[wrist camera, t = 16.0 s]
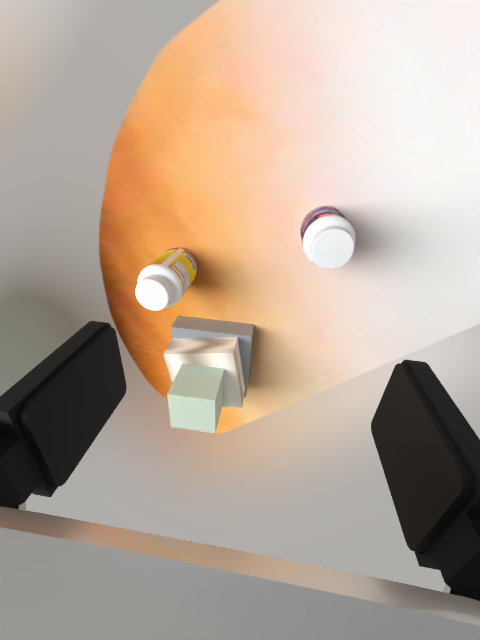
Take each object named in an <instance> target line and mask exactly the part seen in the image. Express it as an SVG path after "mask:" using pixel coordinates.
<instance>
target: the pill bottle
mask: <svg viewBox="0 0 480 640" xmlns="http://www.w3.org/2000/svg"><path fill="white" fill-rule="evenodd" d="M301 239H302V245H303V250H304V253H305V255H306V257H307V258H308V259H309V260H310V261H311V262H312V263H314V264H315V265H318V266H320V267H322V268H325V269H336V268H339V267H342V266H343V265H345V264H346V263H347V262H348V261H349V260H350V258H351V257H352V255H353V252H354V246H355V242H356V235H355V231H354V229H353V227H352V225H351V224H350V222H349V221H348V220H347V219H346V218H345V217H344V216H343V215H342V214H341V213H340V212H339V211H338V210H337V209H335V208H333V207H329V206H321V207H317V208H315V209H313V210H312V211H310V212H309V213H308V214H307V215H306V216H305V218H304V219H303V222H302V224H301Z"/></svg>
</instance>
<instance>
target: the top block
mask: <svg viewBox="0 0 480 640" xmlns="http://www.w3.org/2000/svg"><path fill="white" fill-rule="evenodd" d="M163 355H164V358H165V361H166V365H167V368H168V371H169V374H170V378H171V381H172V383H173V381H174V379H175V377H176V375H177V373H178V371H179V369H180V367H181V365H182V363H183V364H191V365H199V366H207V367H215V368H224V400H223V404H222V407H242V404H243V398H244V392H245V384H244V377H243V370H242V364H241V357H240V350H239V343H238V337H210V338H173V339H172V341H171V343H170V344H169V346H168V347H167V349H166V351H165V352H164V354H163Z"/></svg>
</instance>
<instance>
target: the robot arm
mask: <svg viewBox="0 0 480 640" xmlns="http://www.w3.org/2000/svg"><path fill="white" fill-rule="evenodd" d="M125 392H126V382H125V376H124V371H123V366H122V361H121V356H120V351H119V346H118V341H117V336H116V331H115V329H114V328H112V327H111V325H110V324H109V323H104V322H96V321H90V322H89V323H87V324H86V325H85V326H84V327H83V328H81V329H80V330H79V331H78V332H77V333H75V334H74V335H73V336H72V337H71V338H69V339H68V340H67V341H66V342H65V343H63V344H62V345H61V346H60V347H59V348H57V349H56V350H55V351H54V352H53V353H52V354H50V355H49V356H48V357H47V358H46V359H44V360H43V361H42V362H41V363H40V364H38V365H37V366H36V367H35V368H34V369H32V370H31V371H30V372H29V373H28V374H27V375H25V376H24V377H23V378H22V379H21V380H19V381H18V382H17V383H16V384H15V385H13V386H12V387H11V388H10V389H9V390H8V391H6V392H5V393H4V394H3V395H2V396H0V640H480V439H479V438H478V436H477V435H476V434H475V432H474V431H473V429H472V428H471V426H470V425H469V424H468V422H467V420H466V419H465V418H464V416H463V415H462V413H461V412H460V410H459V409H458V408H457V406H456V405H455V403H454V402H453V400H452V399H451V397H450V396H449V394H448V393H447V391H446V390H445V388H444V387H443V386H442V384H441V383H440V381H439V380H438V378H437V377H436V375H435V374H434V372H433V371H432V370H431V368H430V367H429V365H428V364H427V363H425V362H420V361H412V360H404V361H403V362H402V363H401V364H397V365H396V366H395V368H394V370H393V373H392V375H391V377H390V380H389V382H388V384H387V387H386V389H385V391H384V394H383V396H382V399H381V401H380V403H379V406H378V408H377V410H376V413H375V415H374V417H373V420H372V423H371V431H372V435H373V438H374V441H375V445H376V448H377V451H378V454H379V457H380V460H381V464H382V467H383V470H384V473H385V476H386V479H387V483H388V486H389V489H390V492H391V496H392V499H393V502H394V505H395V508H396V511H397V515H398V518H399V521H400V524H401V528H402V530H403V534H404V537H405V540H406V543H407V545H408V547H409V549H410V550H412V551H415V554H416V557H417V561H418V564H419V566H422V567H427V568H432V569H438V570H441V573H442V576H443V579H444V582H445V583H446V585H445V588H444V590H443V592H440V591H435V590H430V589H426V588H421V587H417V586H412V585H407V584H403V583H398V582H393V581H389V580H385V579H380V578H374V577H369V576H364V575H359V574H354V573H349V572H344V571H339V570H334V569H329V568H324V567H319V566H314V565H308V564H304V563H299V562H294V561H289V560H284V559H279V558H274V557H269V556H263V555H258V554H253V553H248V552H243V551H238V550H232V549H227V548H222V547H217V546H212V545H206V544H201V543H196V542H191V541H186V540H180V539H175V538H170V537H165V536H159V535H154V534H149V533H144V532H138V531H133V530H128V529H123V528H117V527H111V526H107V525H101V524H96V523H90V522H85V521H80V520H75V519H69V518H64V517H58V516H53V515H48V514H42V513H37V512H31V511H26V500H27V498H28V497H29V496H30V494H31V493H33V494H36V495H41V496H47V497H51V496H52V494H53V493H54V492H55V490H56V489H57V487H58V486H62V485H63V484H64V483H65V482H66V480H67V479H68V478H69V477H70V475H71V474H72V472H73V471H74V469H75V468H76V466H77V465H78V463H79V462H80V460H81V459H82V457H83V456H84V454H85V453H86V451H87V450H88V449H89V447H90V446H91V444H92V443H93V441H94V439H95V438H96V436H97V435H98V434H99V432H100V430H101V429H102V428H103V426H104V425H105V423H106V422H107V420H108V419H109V417H110V416H111V414H112V413H113V411H114V410H115V409H116V407H117V405H118V404H119V403H120V401H121V400H122V398H123V396H124V395H125Z"/></svg>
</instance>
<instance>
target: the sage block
mask: <svg viewBox="0 0 480 640" xmlns="http://www.w3.org/2000/svg"><path fill="white" fill-rule="evenodd" d="M167 396H168V405H169V413H170V421H171V427H176V428H182V429H189V430H196V431H204V432H210V433H215V432H216V428H217V424H218V420H219V416H220V412H221V408H222V404H223V400H224V368H215V367H207V366H199V365H191V364H183V363H182V365H181V367H180V369H179V371H178V373H177V375H176V377H175V379H174V381H173V383H172V385H171V387H170V389H169V392H168V394H167Z"/></svg>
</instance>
